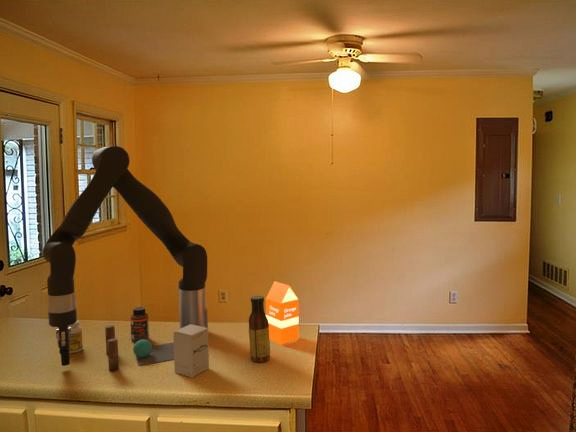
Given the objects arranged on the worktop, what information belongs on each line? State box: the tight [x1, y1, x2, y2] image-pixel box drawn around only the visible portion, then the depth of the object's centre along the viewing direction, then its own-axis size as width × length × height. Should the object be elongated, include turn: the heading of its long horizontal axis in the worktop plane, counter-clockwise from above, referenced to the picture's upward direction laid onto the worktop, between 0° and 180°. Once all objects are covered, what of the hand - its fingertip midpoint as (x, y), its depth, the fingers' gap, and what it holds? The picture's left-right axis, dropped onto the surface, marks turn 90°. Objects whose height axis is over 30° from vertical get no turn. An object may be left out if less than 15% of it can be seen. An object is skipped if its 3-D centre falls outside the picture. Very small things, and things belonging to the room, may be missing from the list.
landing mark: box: [135, 341, 174, 367], centre depth 148 cm, size 14×14×1 cm
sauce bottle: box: [248, 295, 271, 363], centre depth 142 cm, size 6×6×20 cm
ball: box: [132, 339, 153, 358], centre depth 145 cm, size 6×6×6 cm
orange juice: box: [265, 280, 300, 346], centre depth 159 cm, size 8×9×20 cm
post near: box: [107, 338, 120, 373], centre depth 136 cm, size 3×3×9 cm
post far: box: [104, 324, 116, 356], centre depth 148 cm, size 3×3×9 cm
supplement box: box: [172, 324, 210, 378], centre depth 135 cm, size 7×7×13 cm
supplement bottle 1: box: [68, 319, 84, 354], centre depth 151 cm, size 5×5×10 cm
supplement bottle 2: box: [130, 306, 150, 343], centre depth 160 cm, size 6×6×11 cm
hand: (65, 364), depth 137 cm, fingers closed
